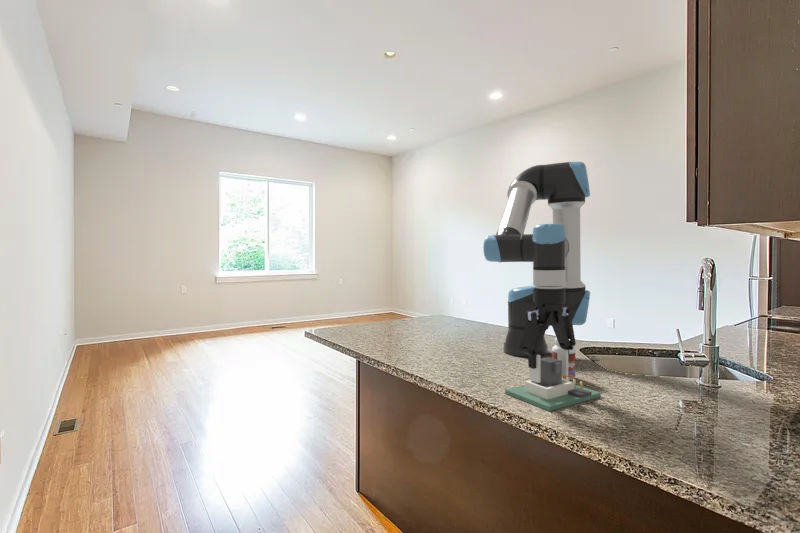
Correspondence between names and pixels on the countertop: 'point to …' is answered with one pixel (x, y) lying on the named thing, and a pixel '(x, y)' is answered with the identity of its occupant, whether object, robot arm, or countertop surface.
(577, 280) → the robot arm
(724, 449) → the countertop surface
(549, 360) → the plug
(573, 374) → the pill bottle
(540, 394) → the header board
